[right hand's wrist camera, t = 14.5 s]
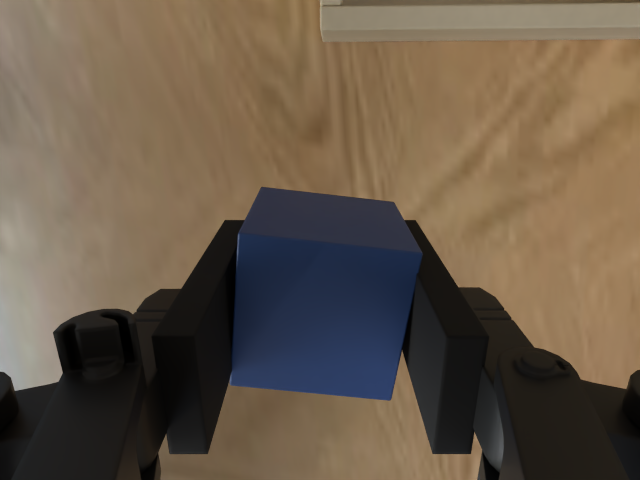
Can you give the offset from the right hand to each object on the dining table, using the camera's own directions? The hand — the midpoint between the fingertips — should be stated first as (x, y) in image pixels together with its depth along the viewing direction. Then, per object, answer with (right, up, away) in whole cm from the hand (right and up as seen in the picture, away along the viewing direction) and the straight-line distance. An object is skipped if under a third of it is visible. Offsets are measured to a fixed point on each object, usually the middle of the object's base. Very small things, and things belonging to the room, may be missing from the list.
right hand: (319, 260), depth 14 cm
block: (0, 0, 0) cm, 0 cm away
